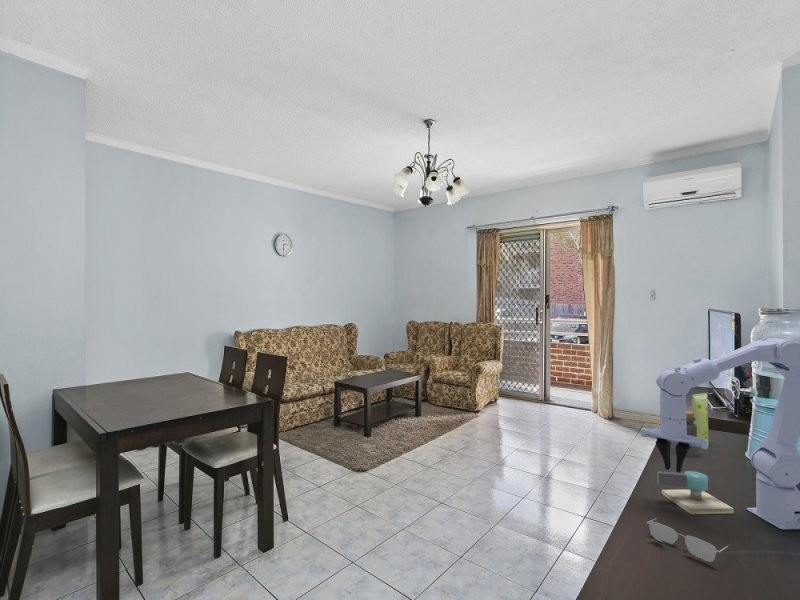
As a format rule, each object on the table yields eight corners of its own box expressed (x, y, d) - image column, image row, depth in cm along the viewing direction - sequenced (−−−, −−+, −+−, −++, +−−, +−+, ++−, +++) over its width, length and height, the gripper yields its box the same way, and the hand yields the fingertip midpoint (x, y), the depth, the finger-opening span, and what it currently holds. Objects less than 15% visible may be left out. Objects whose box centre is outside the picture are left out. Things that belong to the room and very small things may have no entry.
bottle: (679, 457, 143) (679, 413, 143) (674, 451, 149) (673, 409, 149) (699, 458, 141) (699, 414, 141) (693, 452, 147) (692, 410, 147)
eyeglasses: (646, 535, 96) (646, 518, 96) (661, 524, 100) (661, 508, 100) (719, 567, 84) (719, 547, 84) (733, 553, 89) (733, 534, 89)
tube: (710, 450, 150) (709, 395, 150) (692, 447, 152) (692, 394, 152) (707, 445, 154) (707, 392, 155) (691, 443, 157) (690, 391, 157)
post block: (733, 513, 105) (733, 496, 105) (691, 514, 104) (691, 497, 104) (700, 493, 116) (700, 478, 116) (661, 494, 115) (661, 479, 115)
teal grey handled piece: (702, 483, 112) (701, 471, 112) (711, 492, 107) (711, 479, 107) (654, 479, 114) (654, 468, 114) (661, 487, 110) (661, 475, 110)
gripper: (710, 419, 106) (710, 473, 106) (646, 409, 117) (646, 458, 117) (704, 425, 101) (705, 481, 101) (638, 414, 112) (638, 465, 112)
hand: (673, 469), depth 109 cm, fingers closed
